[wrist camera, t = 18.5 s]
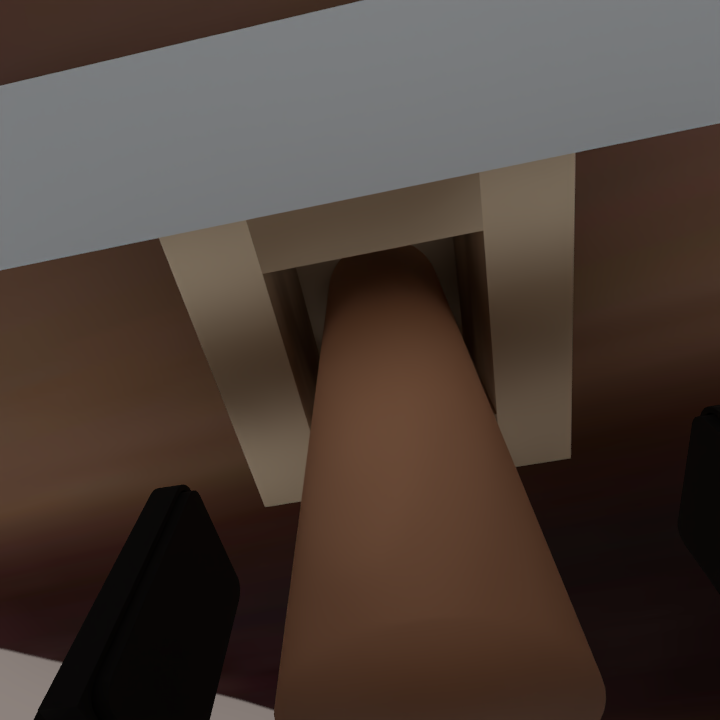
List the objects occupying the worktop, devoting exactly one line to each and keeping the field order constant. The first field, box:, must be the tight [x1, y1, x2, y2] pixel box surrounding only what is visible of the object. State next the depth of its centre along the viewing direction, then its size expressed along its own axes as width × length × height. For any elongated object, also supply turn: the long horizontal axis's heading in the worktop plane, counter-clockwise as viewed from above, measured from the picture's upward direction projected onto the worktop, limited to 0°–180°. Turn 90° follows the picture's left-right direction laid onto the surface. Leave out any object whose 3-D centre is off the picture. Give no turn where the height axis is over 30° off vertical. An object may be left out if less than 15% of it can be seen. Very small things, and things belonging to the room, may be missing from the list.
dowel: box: [274, 245, 606, 720], centre depth 12 cm, size 4×4×14 cm
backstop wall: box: [0, 0, 720, 270], centre depth 11 cm, size 2×22×10 cm, turn 101°
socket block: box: [159, 153, 575, 507], centre depth 16 cm, size 10×10×6 cm
